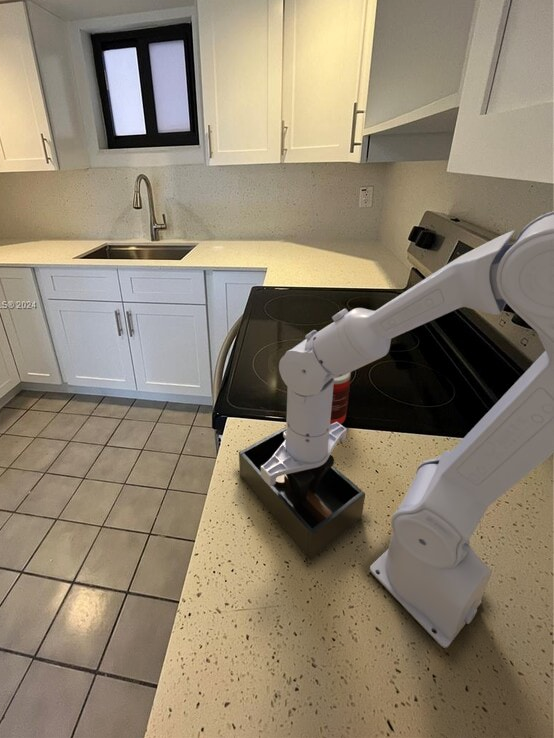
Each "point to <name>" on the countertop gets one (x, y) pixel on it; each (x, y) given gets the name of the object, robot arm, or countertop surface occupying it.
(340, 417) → the canned food
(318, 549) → the tin
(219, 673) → the countertop surface
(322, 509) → the tan long slender bar
